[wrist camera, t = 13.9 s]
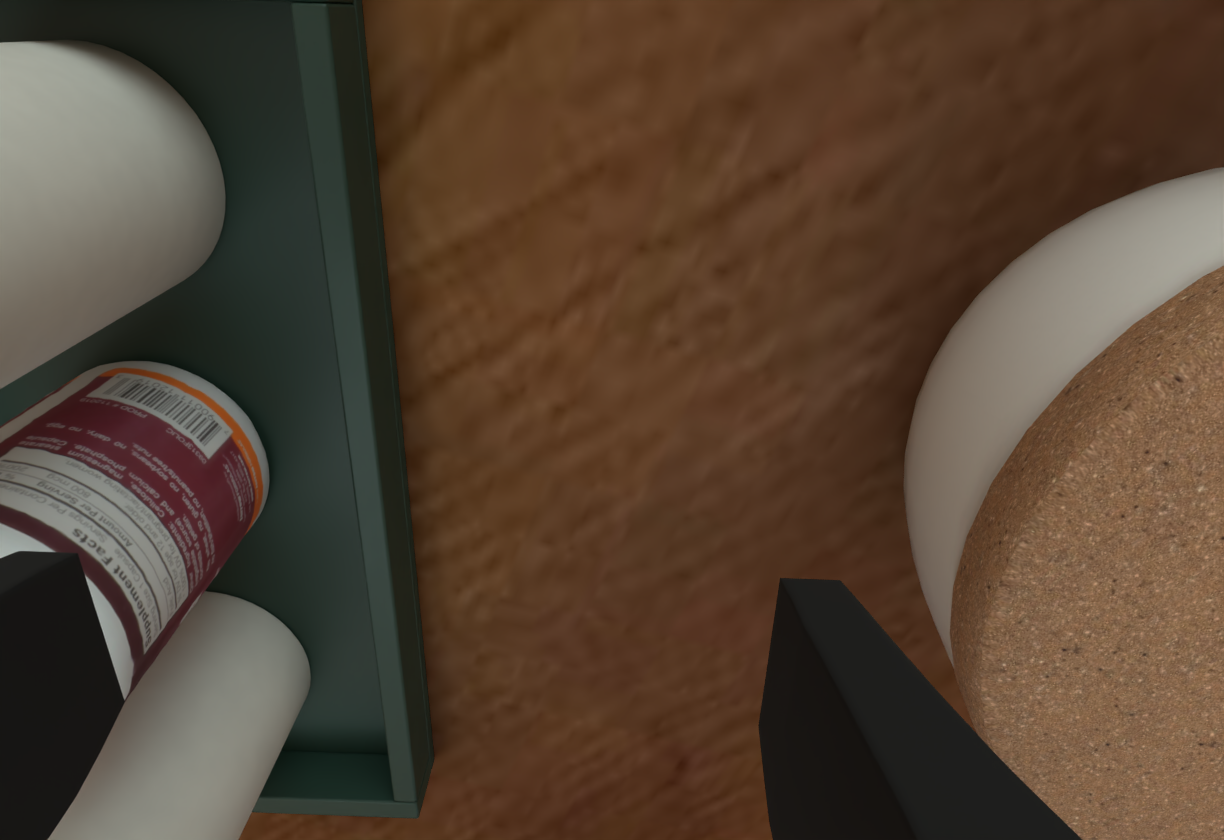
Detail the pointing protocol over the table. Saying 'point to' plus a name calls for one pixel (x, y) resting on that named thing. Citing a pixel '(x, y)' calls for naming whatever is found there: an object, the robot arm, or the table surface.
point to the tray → (289, 365)
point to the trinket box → (1088, 513)
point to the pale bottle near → (94, 194)
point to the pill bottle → (133, 494)
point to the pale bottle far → (196, 731)
